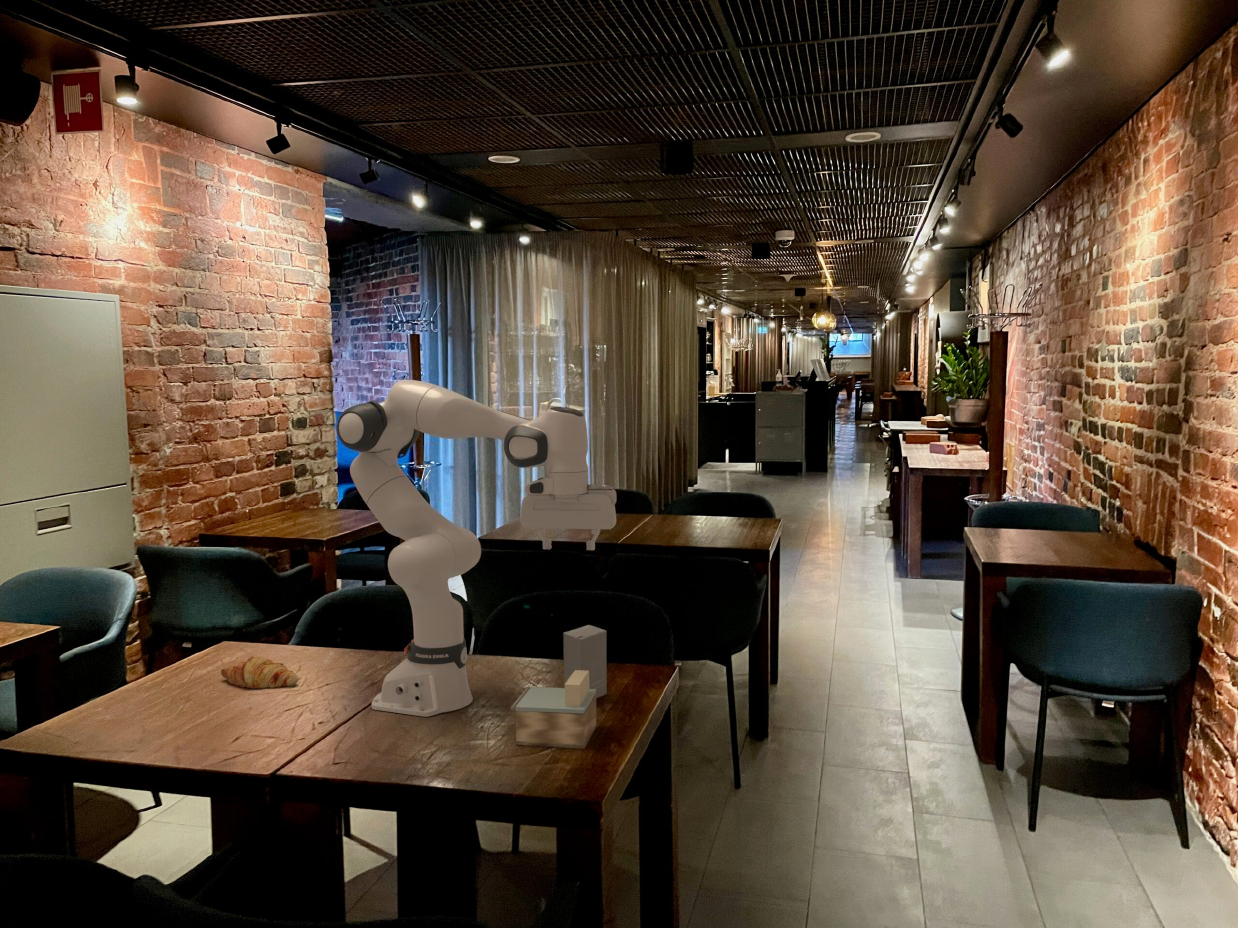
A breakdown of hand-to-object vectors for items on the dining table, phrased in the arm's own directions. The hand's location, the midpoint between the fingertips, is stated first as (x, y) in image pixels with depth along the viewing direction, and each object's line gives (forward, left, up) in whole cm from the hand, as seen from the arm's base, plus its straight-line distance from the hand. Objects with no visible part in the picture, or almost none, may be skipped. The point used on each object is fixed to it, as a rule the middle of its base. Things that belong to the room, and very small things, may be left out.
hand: (568, 549), depth 194 cm
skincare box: (0, +14, -37) cm, 40 cm away
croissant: (-81, +12, -38) cm, 90 cm away
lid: (-2, -9, -30) cm, 31 cm away
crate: (-1, -9, -37) cm, 38 cm away
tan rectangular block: (+3, -9, -29) cm, 31 cm away
